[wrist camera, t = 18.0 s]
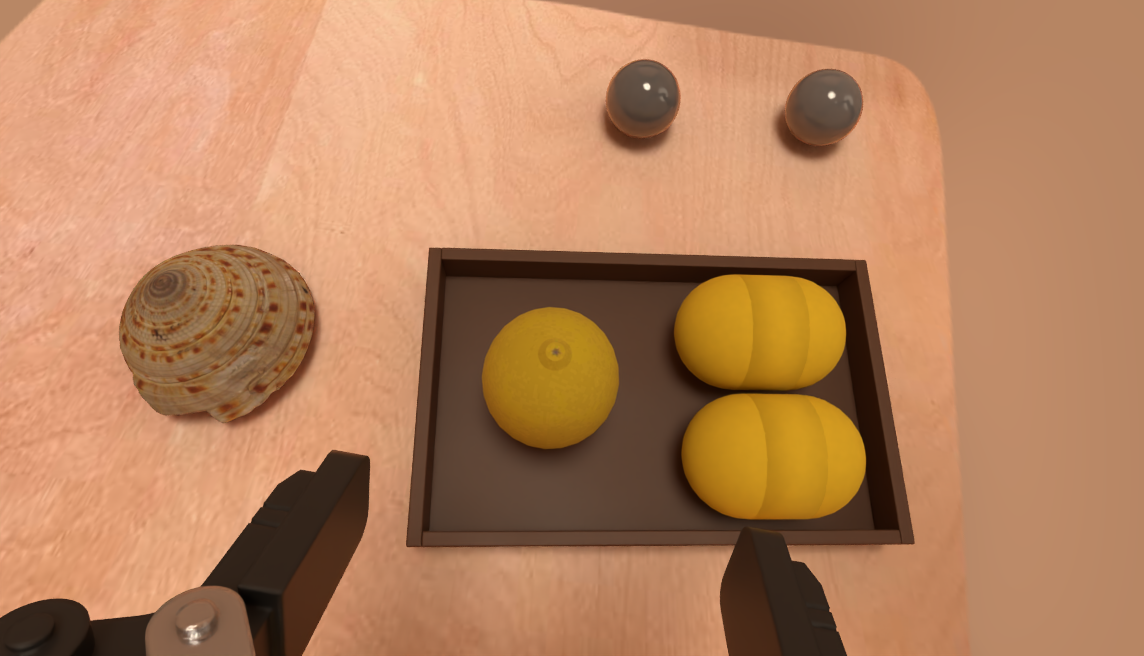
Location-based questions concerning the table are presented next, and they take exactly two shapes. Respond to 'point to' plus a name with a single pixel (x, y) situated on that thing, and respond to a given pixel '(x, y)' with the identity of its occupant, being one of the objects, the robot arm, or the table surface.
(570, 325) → the lemon
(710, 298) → the yellow ribbed oblong body
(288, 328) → the seashell
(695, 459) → the yellow banded capsule
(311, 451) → the table surface
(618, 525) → the tray
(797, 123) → the glossy gray ball
